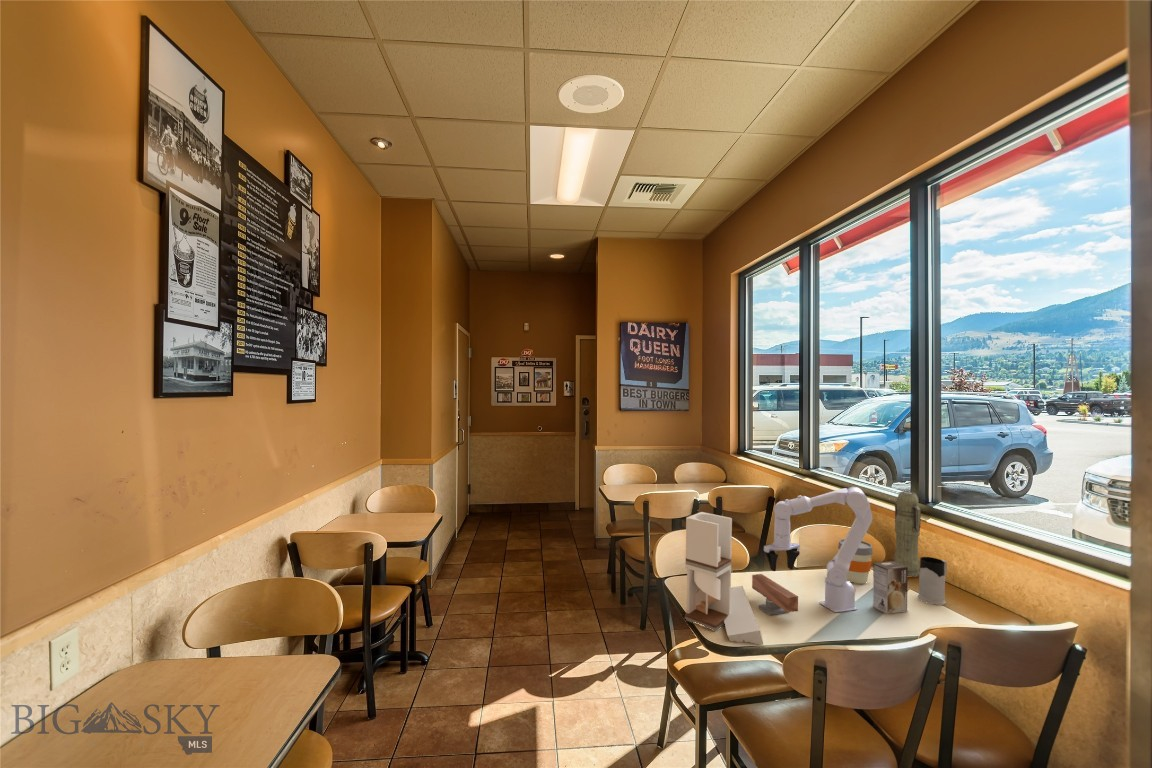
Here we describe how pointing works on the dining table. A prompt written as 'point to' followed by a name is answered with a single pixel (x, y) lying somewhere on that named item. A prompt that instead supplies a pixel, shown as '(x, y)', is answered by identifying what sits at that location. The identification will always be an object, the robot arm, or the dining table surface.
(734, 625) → the decorative molding
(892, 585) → the coffee box
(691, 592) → the white tower model
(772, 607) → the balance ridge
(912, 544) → the thermos
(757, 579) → the mahogany rod
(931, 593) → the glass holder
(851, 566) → the reusable coffee cup
